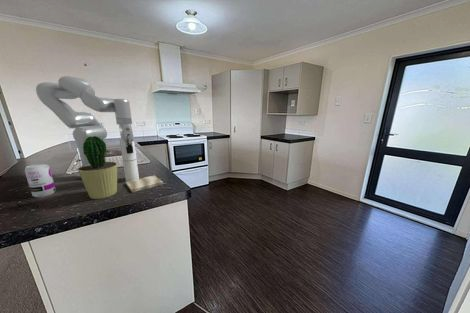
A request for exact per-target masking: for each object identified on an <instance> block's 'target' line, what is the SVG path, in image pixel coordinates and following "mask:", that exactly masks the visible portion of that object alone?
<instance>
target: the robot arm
mask: <svg viewBox="0 0 470 313" xmlns="http://www.w3.org/2000/svg"><path fill="white" fill-rule="evenodd" d="M35 91H36V95H37V97H38V100H40V102H41V103H42V104H43V105H44V106H46V107H47V108H48V109H49V110H50V111H51V112H53V114H54V115H55V116H57V118H58V119H59V120H60V121H61V122H62V123H63V124H64V125H65V126H66V128H69V129H74V130H73V131H72V137H73V139H74V142H75V143H76V145H77V150H78V153H79V158H80V163H81V166H84V165H88V164H89V162H88V160H87V157H86V155H84V153H83V152H84V151H83V149H82V148H83V144H84V142H85V141H86V139H87V138H88V137H90V136H92V137H93V136H97V137H98V138H100V139H101V138H102V140H103V141H104V140H105V139H107V136H108V133H107V132H108V131H107V130H106V128H105V127H104V125H102V124H101V122H100V121H98V119H97V118H96V117H95V116H94V115H93V114H91V113H90V112H85V111H81V112H80V111H75V110H74V108H72V107H71V105H69V104H68V103H67V102H65V101H64V100H75V99H76V100H77V99H78V98H79V99H81V100H80V101H81V102H82V103H83V105H84V106H85V107H87V108H89V109H91V110H93V111H96V112H98V113H114V116H115V120H116V122H115V123H116V125H119V135H120V139H123V140H124V142H126V146H127V147H126V150H127V154H129V153H133V146H132V142H131V140H132V141H134V142H135V137H134V133H133V128H132V127H133V126H132V124H133V120H132V113H131V112H132V111H131V106H130V100H129V99H127V98H108V97H99V96H97V95H96V91H95V89H94V88H93V87H92V86H91V83H89V81H88V80H86V79H84V78H80V77H76V76H75V77H74V76H70V75H65V76H61V77H60V78H59V79H58V80H57V83H56V82H40V83H38V84H37V85H36V88H35ZM85 138H86V139H85ZM84 140H85V141H84ZM126 140H128V141H126ZM127 143H128V144H127ZM73 176H74V177H76V178H78V177H81V176H80V174H79V172H74V173H73Z"/></svg>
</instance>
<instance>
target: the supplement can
mask: <svg viewBox="0 0 470 313" xmlns="http://www.w3.org/2000/svg"><path fill="white" fill-rule="evenodd" d="M24 173H25V176H26V179H27V184H28V187H29V190H30V193H31V196H32V197H34V198H43V197H48V196H51V195H54V193H55V192H56V191H57V189H56V186H55V181H54V178H53V177H54V176H53V175H52V171H51V168H50V166H49V165H48V164H47V163H36V164H30V165H27V166H26V167H25V169H24Z"/></svg>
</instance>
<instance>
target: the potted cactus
mask: <svg viewBox="0 0 470 313" xmlns="http://www.w3.org/2000/svg"><path fill="white" fill-rule="evenodd" d="M85 139H86V138H85ZM84 141H85V140H84ZM82 149H83V151H84V152H83V153H84V155H86V157H87V160H88V162H89V164H88V165H84V166H82V165H81V166H80V167H78V168H77V171H78V173H79V174H80V176H79V177H80V178H81V180H82V183H83V185H84V187H85V189H86V191H87V192H86V193H87V194H88V197H89V198H91V200H93V199H94V200H99V199H106V198H108V197H111V196H113V195H115V194H117V193H118V162H116V161H107V160H106V155H107V153H106V152H108V151H109V150H107V143H106V141H104V139H103V140H102V138H101V139H100V138H98V137H97V136H93V137H92V136H90V137H88V138H87V139H86V141H85V142H84V144H83V148H82Z"/></svg>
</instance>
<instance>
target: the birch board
mask: <svg viewBox="0 0 470 313" xmlns="http://www.w3.org/2000/svg"><path fill="white" fill-rule="evenodd" d="M125 185H126V187H127V188H128V189H129V190H130V192H131V193H136V192H138V191H142V190H146V189H151V188H153V187H157V186H161V185H164V181H162V180H161V179H160V178H158V176H156V175H155V174H153V175H150V176H145V177H141V178H140V177H139V179H136V180H131V181H125Z"/></svg>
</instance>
